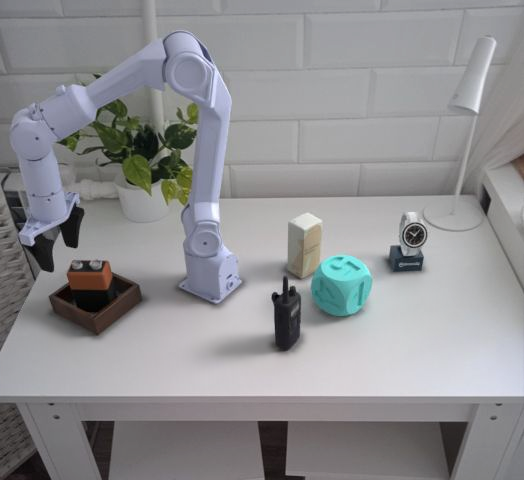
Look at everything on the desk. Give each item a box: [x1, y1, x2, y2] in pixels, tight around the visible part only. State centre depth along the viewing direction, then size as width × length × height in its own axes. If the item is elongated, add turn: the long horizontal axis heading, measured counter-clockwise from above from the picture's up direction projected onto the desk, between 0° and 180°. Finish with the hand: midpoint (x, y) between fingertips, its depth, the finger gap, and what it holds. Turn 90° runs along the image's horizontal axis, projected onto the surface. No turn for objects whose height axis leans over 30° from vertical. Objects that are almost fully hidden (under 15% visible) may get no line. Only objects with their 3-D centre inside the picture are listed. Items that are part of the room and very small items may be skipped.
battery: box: [66, 258, 119, 314], centre depth 112 cm, size 4×7×10 cm, turn 86°
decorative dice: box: [310, 254, 373, 317], centre depth 111 cm, size 8×8×8 cm
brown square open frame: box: [47, 271, 144, 336], centre depth 114 cm, size 12×12×4 cm
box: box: [286, 211, 323, 279], centre depth 118 cm, size 5×4×11 cm
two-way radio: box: [270, 275, 302, 351], centre depth 102 cm, size 6×4×15 cm
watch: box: [388, 211, 430, 273], centre depth 118 cm, size 6×8×11 cm
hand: (60, 258), depth 109 cm, fingers open, 7 cm apart
